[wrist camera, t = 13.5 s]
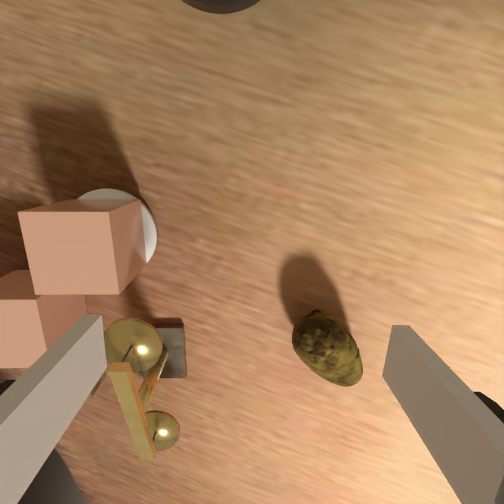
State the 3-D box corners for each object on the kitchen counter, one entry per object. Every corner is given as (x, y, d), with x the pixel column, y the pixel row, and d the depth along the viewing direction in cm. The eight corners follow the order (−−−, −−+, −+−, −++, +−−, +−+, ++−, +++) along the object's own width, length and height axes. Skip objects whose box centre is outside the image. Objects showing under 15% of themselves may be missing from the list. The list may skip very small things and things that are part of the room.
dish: (62, 188, 38) (57, 188, 37) (154, 188, 38) (151, 189, 37) (76, 273, 41) (72, 276, 40) (161, 273, 41) (159, 276, 40)
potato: (302, 380, 46) (313, 424, 39) (281, 304, 43) (289, 336, 35) (357, 366, 46) (380, 409, 38) (341, 288, 42) (363, 318, 34)
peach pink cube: (70, 199, 37) (17, 211, 28) (140, 199, 37) (108, 211, 29) (81, 264, 39) (35, 294, 31) (146, 264, 40) (119, 294, 31)
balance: (135, 279, 41) (78, 341, 27) (180, 279, 41) (147, 341, 27) (149, 410, 47) (109, 516, 33) (189, 410, 47) (166, 515, 33)
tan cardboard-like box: (16, 269, 40) (-46, 300, 32) (80, 269, 41) (35, 299, 32) (29, 325, 43) (-26, 368, 34) (89, 325, 43) (50, 367, 34)
